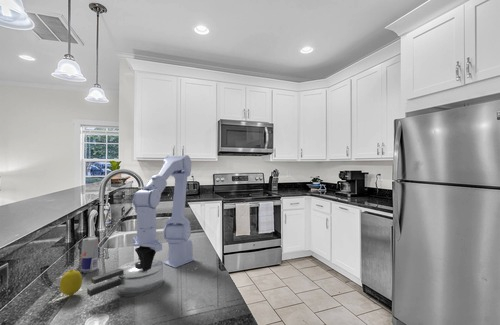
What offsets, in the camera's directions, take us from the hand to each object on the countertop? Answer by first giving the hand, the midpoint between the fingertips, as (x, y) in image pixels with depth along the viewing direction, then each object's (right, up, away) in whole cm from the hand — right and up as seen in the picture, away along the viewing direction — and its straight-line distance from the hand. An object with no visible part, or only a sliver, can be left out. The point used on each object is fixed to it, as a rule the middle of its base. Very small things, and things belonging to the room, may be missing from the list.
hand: (146, 269), depth 77 cm
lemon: (-22, -7, -4) cm, 23 cm away
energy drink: (-29, -7, +15) cm, 33 cm away
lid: (-5, -1, 0) cm, 5 cm away
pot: (-6, -6, -1) cm, 8 cm away
